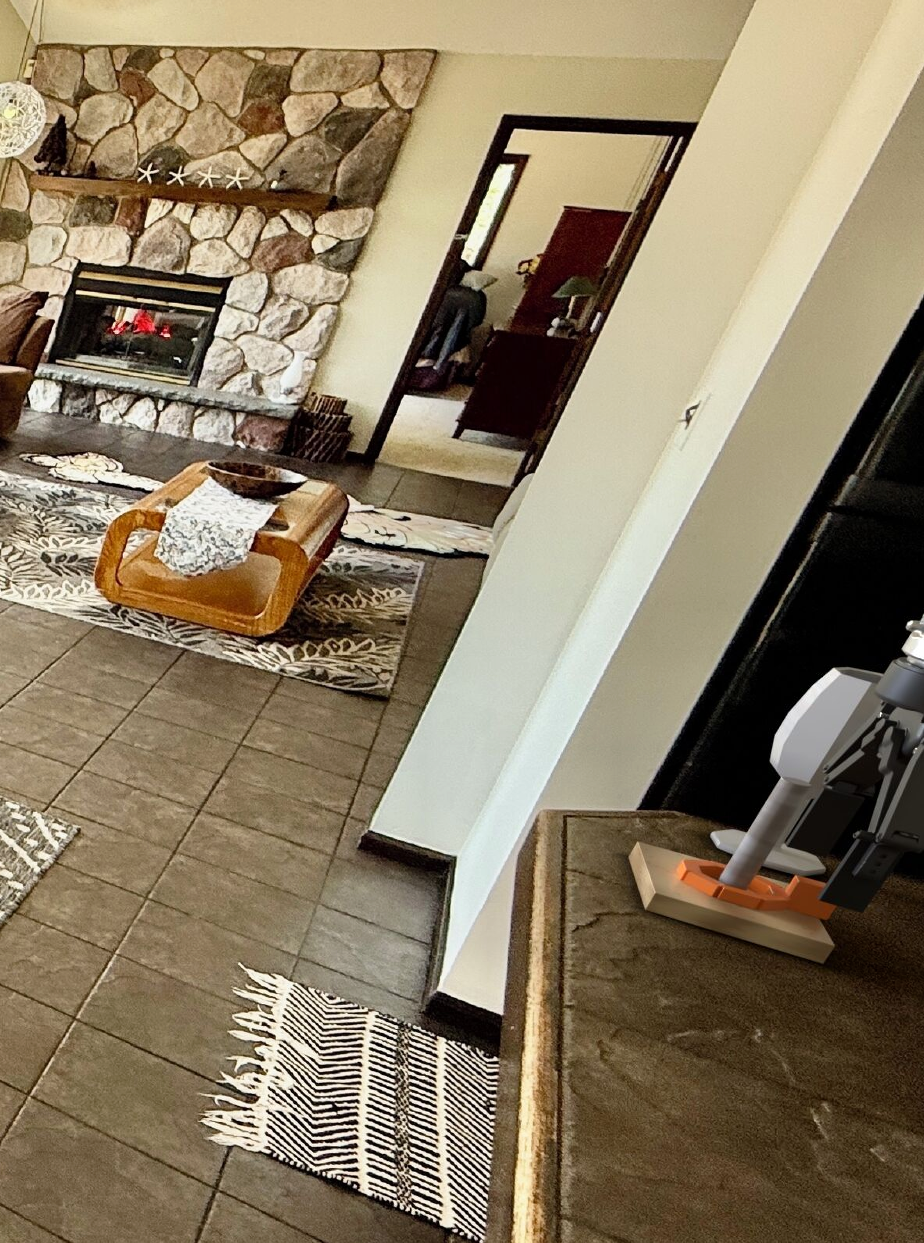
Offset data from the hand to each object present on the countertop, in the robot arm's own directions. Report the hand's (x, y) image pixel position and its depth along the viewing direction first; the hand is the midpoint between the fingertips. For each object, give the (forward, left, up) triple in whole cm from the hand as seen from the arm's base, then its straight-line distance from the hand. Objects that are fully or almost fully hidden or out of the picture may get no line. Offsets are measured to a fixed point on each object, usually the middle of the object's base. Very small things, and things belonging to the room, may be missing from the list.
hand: (821, 877), depth 109 cm
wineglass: (-1, -20, -6) cm, 21 cm away
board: (+5, 0, -6) cm, 7 cm away
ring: (+3, 0, -4) cm, 5 cm away
